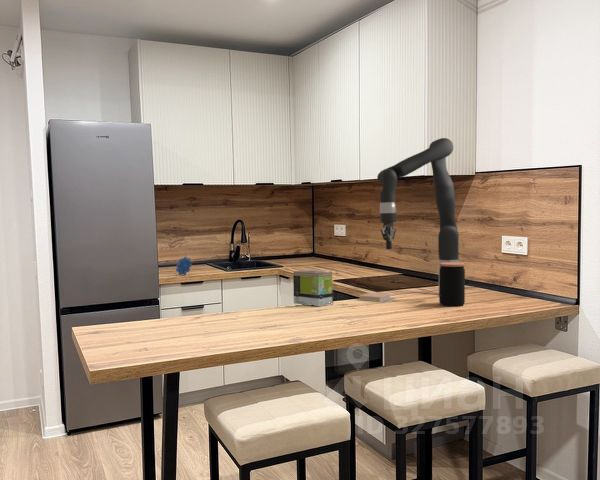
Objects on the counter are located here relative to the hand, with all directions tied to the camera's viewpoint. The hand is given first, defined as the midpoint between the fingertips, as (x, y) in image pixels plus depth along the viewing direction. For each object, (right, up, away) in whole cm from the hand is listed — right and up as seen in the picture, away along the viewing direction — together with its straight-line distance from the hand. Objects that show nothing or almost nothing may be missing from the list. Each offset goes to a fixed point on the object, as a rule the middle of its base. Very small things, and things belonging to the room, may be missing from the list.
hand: (389, 249), depth 266 cm
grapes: (-119, -19, +108) cm, 162 cm away
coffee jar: (+24, -24, -21) cm, 40 cm away
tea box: (-36, -24, -15) cm, 46 cm away
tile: (-6, -21, -10) cm, 24 cm away
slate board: (-8, -24, -13) cm, 28 cm away
